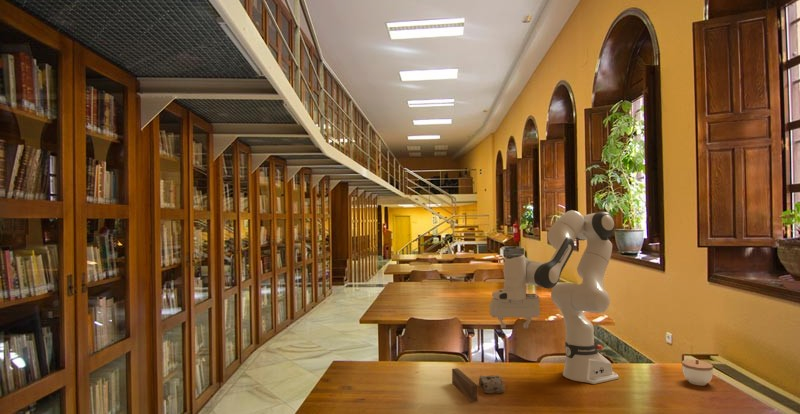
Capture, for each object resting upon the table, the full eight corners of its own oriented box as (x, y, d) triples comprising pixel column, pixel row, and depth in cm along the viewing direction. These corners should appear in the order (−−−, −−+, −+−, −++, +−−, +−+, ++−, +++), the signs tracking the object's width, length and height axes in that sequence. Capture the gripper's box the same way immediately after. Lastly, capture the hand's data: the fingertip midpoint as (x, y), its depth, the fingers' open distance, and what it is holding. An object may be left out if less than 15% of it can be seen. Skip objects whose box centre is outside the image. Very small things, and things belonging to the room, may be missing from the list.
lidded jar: (686, 376, 197) (685, 354, 197) (716, 382, 189) (715, 359, 190) (678, 382, 190) (678, 359, 190) (709, 389, 182) (709, 365, 182)
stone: (477, 374, 193) (502, 373, 191) (479, 389, 192) (504, 388, 190) (477, 379, 180) (503, 378, 179) (479, 395, 179) (505, 394, 177)
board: (458, 382, 192) (457, 368, 192) (477, 401, 173) (477, 385, 173) (452, 383, 191) (452, 368, 191) (471, 402, 172) (471, 386, 172)
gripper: (536, 292, 193) (536, 325, 193) (488, 292, 191) (488, 326, 190) (542, 294, 187) (542, 329, 186) (492, 295, 185) (492, 330, 184)
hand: (514, 328), depth 188 cm, fingers open, 8 cm apart
